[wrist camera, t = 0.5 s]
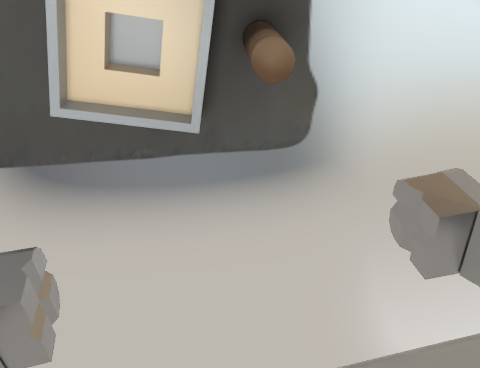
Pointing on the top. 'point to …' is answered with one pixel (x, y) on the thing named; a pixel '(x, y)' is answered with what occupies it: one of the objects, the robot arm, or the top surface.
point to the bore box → (129, 61)
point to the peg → (268, 52)
